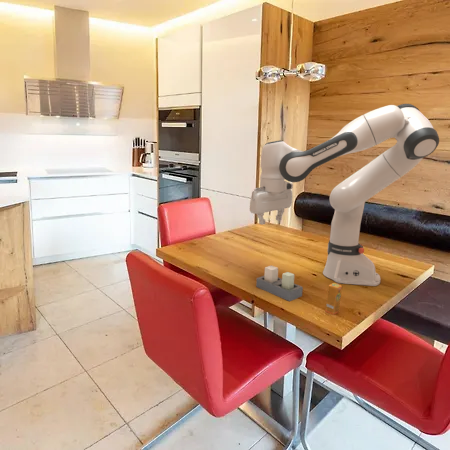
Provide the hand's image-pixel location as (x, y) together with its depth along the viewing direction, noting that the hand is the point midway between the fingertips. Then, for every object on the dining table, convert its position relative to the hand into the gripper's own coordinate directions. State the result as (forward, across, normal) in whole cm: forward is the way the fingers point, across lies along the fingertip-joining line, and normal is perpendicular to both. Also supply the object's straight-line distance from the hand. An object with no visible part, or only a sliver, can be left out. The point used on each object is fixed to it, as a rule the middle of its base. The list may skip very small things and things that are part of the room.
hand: (270, 222), depth 143 cm
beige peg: (+24, -5, -13) cm, 28 cm away
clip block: (+24, -4, -5) cm, 25 cm away
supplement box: (+25, -4, -31) cm, 40 cm away
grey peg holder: (+24, -4, -9) cm, 26 cm away
